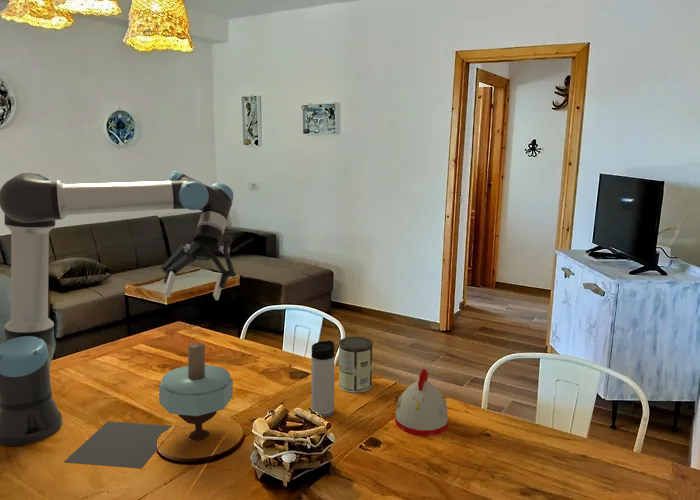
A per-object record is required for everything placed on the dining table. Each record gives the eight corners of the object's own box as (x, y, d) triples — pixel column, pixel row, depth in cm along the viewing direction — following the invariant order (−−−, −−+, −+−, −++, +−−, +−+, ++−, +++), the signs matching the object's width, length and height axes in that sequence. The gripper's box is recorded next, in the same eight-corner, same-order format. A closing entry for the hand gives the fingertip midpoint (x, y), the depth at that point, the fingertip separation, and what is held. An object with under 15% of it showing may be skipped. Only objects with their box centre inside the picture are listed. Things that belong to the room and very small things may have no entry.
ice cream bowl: (210, 450, 134) (208, 393, 131) (168, 445, 136) (164, 388, 134) (228, 428, 144) (226, 374, 142) (188, 424, 147) (186, 370, 144)
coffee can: (350, 375, 178) (350, 334, 175) (378, 383, 172) (379, 340, 169) (331, 387, 169) (332, 343, 166) (360, 396, 164) (361, 351, 161)
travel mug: (339, 411, 154) (340, 343, 150) (322, 420, 149) (322, 350, 145) (323, 404, 158) (324, 337, 154) (306, 412, 154) (306, 344, 150)
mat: (63, 463, 128) (63, 462, 128) (107, 422, 147) (107, 421, 147) (141, 470, 126) (141, 468, 126) (176, 427, 145) (176, 426, 145)
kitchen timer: (389, 430, 145) (390, 376, 142) (402, 406, 158) (404, 357, 155) (442, 440, 140) (445, 385, 137) (451, 415, 153) (454, 364, 150)
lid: (150, 411, 131) (149, 354, 129) (178, 384, 147) (178, 333, 145) (216, 418, 130) (217, 359, 127) (238, 390, 145) (239, 338, 143)
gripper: (255, 240, 160) (239, 305, 148) (172, 237, 163) (151, 300, 151) (249, 225, 154) (233, 291, 142) (163, 221, 157) (140, 286, 145)
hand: (190, 296), depth 147 cm, fingers open, 13 cm apart
